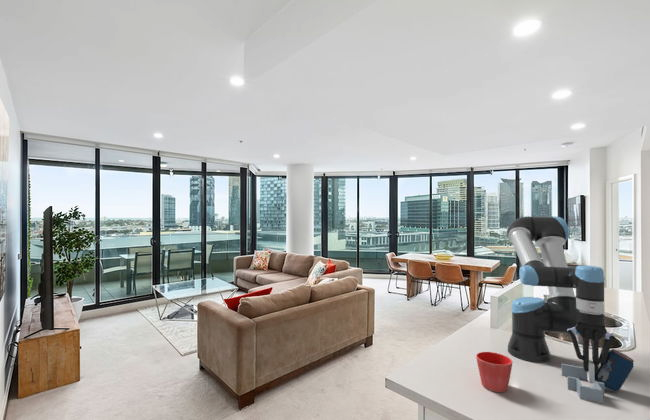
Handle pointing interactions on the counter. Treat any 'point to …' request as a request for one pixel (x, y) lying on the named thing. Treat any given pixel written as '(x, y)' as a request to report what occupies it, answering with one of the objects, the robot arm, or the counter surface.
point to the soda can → (614, 370)
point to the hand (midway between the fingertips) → (590, 381)
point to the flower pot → (494, 370)
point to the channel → (574, 384)
